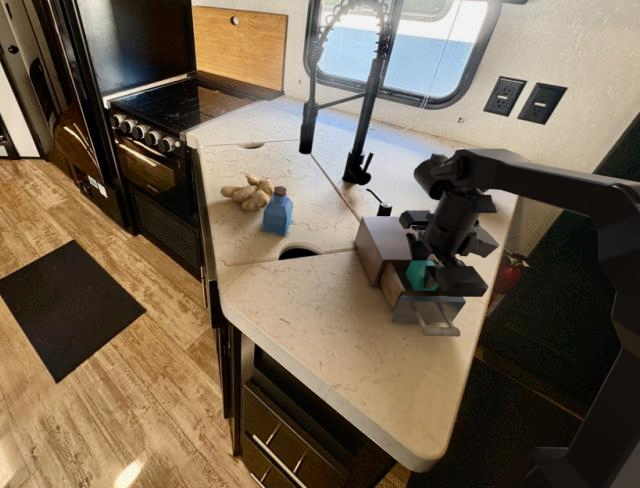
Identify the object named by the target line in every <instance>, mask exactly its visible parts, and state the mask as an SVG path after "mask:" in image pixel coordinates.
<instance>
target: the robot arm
mask: <svg viewBox="0 0 640 488" xmlns="http://www.w3.org/2000/svg"><path fill="white" fill-rule="evenodd" d="M412 175H413V178H414V180H415V182H416V183H417V184H418V185H419V187H420V188H421V189H422V190H423V191H424V192H425V193H426V195H427V196H428V197H429V198H430V199H431V200H435V201H438V202H437V205H436V207H435V210H434V211H433V212H431V211H430V210H429V209H406V210H404V211H403V212H401V213H400V215H399V217H400V218H399V220H398V221H399V222H400V224H401V225H402V227H403V229H410V227H411V229H412V230H411V233H406V237H407V240H408V244H409V249H410V253H411V258H412V260H414V261H427V259H428V257H429V256H430V254H432V255H433V256H434V258H435V259H436V261H437V262H438V263H439V264H437V265H436V266H430V265H426V266H425V274H424V288H425V289H431V288H433V287H434V286H436V285H438V284H439V286H440V288H441V289H442V291H443V292H444V294H446V295H447V296H449V297H463V298H482V297H484V296H485V294H486V292H487V291H488V289H489V285H488V284H487V283H486V281H485V280H484V278H483V277H482V276H481V274H480V273H479V272H478V271H477V270H476V268H475V267H474V266H473V265H467V264H466V263H465V261H463V260H461V259H459V258H457V256H456V255H458V256H459V257H468V256H470V255H469V254H473V255H476V256H479V257H481V258H482V259H486V258H487V257H489V256H490V255H491V254H492V253H493V252H494V251H496V249H498V248H499V247H500V243H498V241H497V240H496V239H495V238H494V237H493V236H492V235H491V234H490V232H488V231H487V230H486V229H485V228H483V227H482V226H481V225H480V224H481V223H480V220H479V217H480V216H481V214H497V213H498V208H497V205H496V204H495V202H494V200H493V196H492V195H491V194H485V193H483V192H481V191H480V190H479V189H489V190H495V191H503V192H506V193H509V194H513V195H516V196H519V197H522V198H525V199H529V200H532V201H536V202H538V203H541V204H545V205H548V206H552V207H554V208H557V209H561V210H564V211H568V212H571V213H575V214H577V215H580V216H584V217H587V218H589V219H590V220H591V222H592V223H593V225H594V227H595V229H597V256H598V257H597V260H598V263H599V265H600V267H601V268H602V270H603V272H604V274H605V275H606V277H607V279H608V280H609V282H610V284H611V286H612V287H613V289H614V290H615V296H614V300H613V305H612V310H611V315H610V318H611V322H612V324H613V326H614V330H615V332H616V334H617V337H618V340H619V341H620V345H621V348H620V351H619V353H618V355H617V356H616V358H615V360H614V363H613V364H612V366H611V368H610V370H609V372H608V374H607V375H606V378H605V379H604V381H603V383H602V385H601V387H600V389H599V391H598V393H597V394H596V396H595V398H594V400H593V402H592V403H591V406H590V407H589V409H588V410H587V413H586V415H585V417H584V419H583V421H582V422H581V423H580V424H581V425H580V426H579V429H578V430H577V432H576V434H575V436H574V438H573V440H572V442H571V443H570V445H569V447H568V446H567V447H566V446H565V447H562V446H561V447H560V446H559V447H558V446H554V447H553V446H552V447H551V446H550V447H547V446H534V447H533V448H532V449H531V450H530V451H529V454H528V458H527V459H528V460H527V463H526V465H525V466H524V467H521V468H519V471H520V473H521V474H523V475H524V477H523V480H522V485H521V487H522V488H640V181H634V180H629V179H623V178H617V177H612V176H607V175H606V176H605V175H600V174H595V173H589V172H584V171H578V170H575V169H574V170H573V169H568V168H563V167H556V166H550V165H547V164H546V165H545V164H539V163H534V162H531V161H529V160H527V159H526V158H525V156H523V154H519V153H517V152H514V151H511V150H509V149H506V148H487V147H486V148H483V147H482V148H477V147H476V148H475V147H474V148H472V147H471V148H468V147H467V148H465V147H464V148H463V147H461V148H458V149H456V150H455V151H454V153H453V155H452V156H451V157H448V156H447V155H446V154H445V153H443V152H441V153H440V152H439V153H438V152H437V153H436V152H433V153H431V155H430V158H427V159H424V160H423V161H421V162H420V163H419V164H418V165H417V166H416V167H415V168H414V170H413V174H412ZM411 225H417V226H411Z"/></svg>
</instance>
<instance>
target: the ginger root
mask: <svg viewBox="0 0 640 488" xmlns="http://www.w3.org/2000/svg"><path fill="white" fill-rule="evenodd" d="M245 178H246V180H247V181H246V182H247V184H248V185H245V186H241V187H240V186H236V185H225V186H222V187H221V188H220V190H219V191H220V194H221V196H222V197H224V198H226V199H227V198H228V199H233V200H234V201H235V202H241V203H242V204H241V208H242V209H243V210H245V211H256V210H258V209H265V208H266V207H267V205H268V203H269V201H270V199H271V198H272V196H273V192H274V188H275V187H277V186H276V185H273V183H272V182H271V180H270V179H269V178H265V179H264V178H263V179H260V178H258V177H256V176H251V174H250V173H249V174H248V173H246V174H245Z"/></svg>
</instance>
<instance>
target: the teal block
mask: <svg viewBox="0 0 640 488" xmlns="http://www.w3.org/2000/svg"><path fill="white" fill-rule="evenodd" d="M426 265H430V266H435V264H434V263H433V261H414V260H412V261H411V263H410V265H409V267H408V269H407V272H406V276H407V278H408V280H409V282H410V283H411V285H412V287H413V289H414V291H435V290H436V288H437V287H438V285H439V284H438V285H436V286H434V287H433V288H431V289H425V288H424V274H425V266H426Z"/></svg>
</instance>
